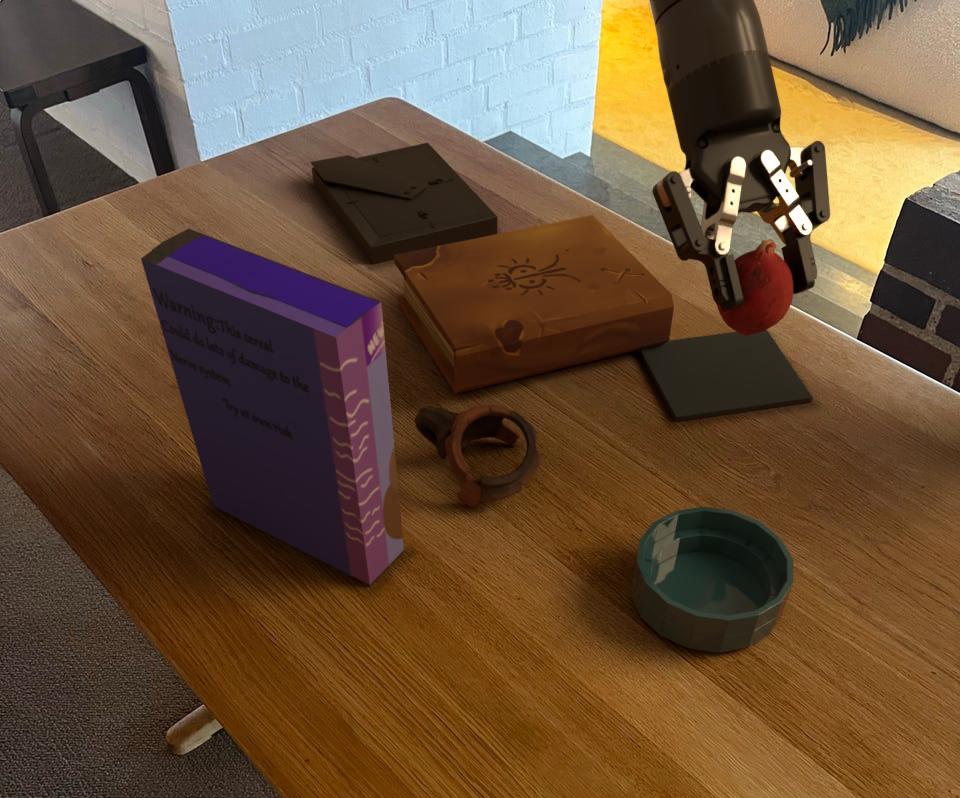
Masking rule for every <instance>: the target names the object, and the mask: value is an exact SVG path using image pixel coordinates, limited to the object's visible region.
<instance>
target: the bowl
mask: <svg viewBox="0 0 960 798" xmlns="http://www.w3.org/2000/svg"><path fill="white" fill-rule="evenodd" d="M632 576H633V578H632V585H631V592H630V593H631V597H632V599H633V602H634V604H635V607H636V609H637V612H638V614H639V616H640V618H641V619H642V620H643V621H644V622H645V623H647V625H649V627H650V628H652V629H653V630H654V631H655V633H657V635H659V636H661V637H663V638H664V639H667V640H669V641H671V642H674V643H676V644H678V645H680V646H683V647H685V648H686V649H690V650H697V651H705V652H712V653H724V652H730V651H736V650H741V649H747V648H750V647H751V646H753V645H755V644H756V643H758V642H760V641H761V640H763V639H765V638H766V637H768V636H770V635H771V634H772V632H773V631H774V630H775V629H774V628H775V627H776V625H777V623H778V622H779V621H780V619H781V618H782V616H783V613H784V610H785V608H786V604H787V601H788V599H789V596H790V593H791V590H792V588H793V585H794V580H795V577H794V559H793V557H792V555H791V553H790V551H789V550H788V548H787V546H786V545H785V542H784V541H783V539H782V538H781V537H780V536H779V535H778V534H777V533H775V532H774V531H773V530H771V528H769V527H768V526H767V525H765V524H764V523H763V522H762V521H760V520H759V519H757V518H756V519H755V518H753V517H751V516H748V515H745V514H743V513H740V512H738V511H737V510H734V509H729V508H728V509H727V508H718V507H710V506H697V507H691V508H685V509H684V508H683V509H679V510H674V511H672V512H670V513H668V514H666V515H664V516H663V517H661V518H659V519H657V520H655V521H654V522H652V523H651V525H650V526H649V527H648V528H647V530H646V531H645V532H644V533H643V535H642V537H641V538H640V539H639V541H638V545H637V552H636V558H635V563H634V570H633V575H632Z"/></svg>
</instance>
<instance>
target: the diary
mask: <svg viewBox="0 0 960 798" xmlns="http://www.w3.org/2000/svg"><path fill="white" fill-rule="evenodd" d="M393 262H394V263H393V264H394V265H395V266H396V268H397V269H398V271H399V272H400V274H401V276H402V277H403V287H404V288H403V289H404V294H400V295H397V296H396V298H397V299H396V301H397V305H398V306H399V308H400V310H401V311H402V313H403V314H404V316H405V318H406V319H407V320H408V322H409V324H410V325H411V327H412V328H413V330H414V331H415V333H416V334H417V336H418V338H419V339H420V341H421V342H422V344H423V346H424V347H425V349H426V350H427V352H428V354H429V355H430V356H431V359H433V361H434V363H435V364H436V366H437V368H438V369H439V371H440V372H441V374H442V375H443V377H444V379H445V381H446V382H447V383H448V385H449V386H450V388H451V390H452V391H453V393H454V394H455V395H456V394H460V393H464V392H465V393H466V392H468V391H473V390H478V389H481V388H485V387H491V386H494V385H498V384H502V383H507V382H511V381H514V380H519V379H523V378H527V377H532V376H536V375H539V374H544V373H548V372H553V371H556V370H559V369H564V368H565V369H566V368H568V367H573V366H577V365H582V364H586V363H590V362H594V361H598V360H603V359H607V358H611V357H614V356H619V355H623V354H628V353H631V352H632V353H633V352H636V351H638V350H640V349H645V348H649V347H653V346H657V345H661V344H665V343H666V342H667V341H670V338H671V329H672V324H673V318H674V317H673V316H674V311H675V305H674V304H675V303H674V300H673V295H672V293H671V292H670V291H669V290H668V289H667V288H666V287H665V286H664V284H662V283H661V282H660V281H659V280H658V279H657V278H656V277H655V276H654V275H653V273H651V272H650V271H649V270H648V268H647V267H645V266H644V264H642V262H640V261H639V260H638V259H637V258H636V256H634V255H633V254H632V253H631V251H629V250H628V249H627V247H625V245H623V243H622V242H621V241H620V240H619V239H617V237H615V235H613V233H611V231H610V230H608V228H606V226H605V225H603V223H601V221H600V220H599V219H598V218H597V217H596V216H595V215H594V214H590V215H585V216H580V217H575V218H570V219H565V220H561V221H555V222H550V223H546V224H540V225H535V226H530V227H525V228H521V229H520V228H519V229H515V230H511V231H505V232H500V233H496V234H492V235H488V236H484V237H480V238H476V239H471V240H466V241H461V242H456V243H451V244H446V245H441V246H436V247H431V248H426V249H421V250H416V251H411V252H406V253H401V254H396V255H394V259H393Z"/></svg>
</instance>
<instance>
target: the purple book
mask: <svg viewBox="0 0 960 798" xmlns="http://www.w3.org/2000/svg"><path fill="white" fill-rule="evenodd" d="M140 260H141V264H142V268H143V271H144V274H145V277H146V280H147V284H148V288H149V291H150V295H151V298H152V301H153V305H154V309H155V311H156V315H157V318H158V322H159V325H160V328H161V333H162V336H163V338H164V342H165V346H166V348H167V352H168V353H167V354H168V356H169V360H170V363H171V367H172V370H173V373H174V376H175V380H176V383H177V387H178V390H179V391H178V392H179V393H180V397H181V400H182V401H181V402H182V404H183V407H184V411H185V414H186V418H187V421H188V424H189V429H190V432H191V435H192V438H193V441H194V445H195V449H196V452H197V455H198V459H199V462H200V465H201V466H200V467H201V469H202V473H203V476H204V479H205V483H206V486H207V490H208V493H209V496H210V500H211V503H212V506H213V508H214V509H217V510H218V511H221V512H222V513H224V514H226V515H227V516H230V517H232V518H234V519H236V520H238V521H240V522H242V523H244V524H245V525H248V526H250V527H252V528H254V529H256V530H258V531H260V532H261V533H264V534H265V535H268V536H270V537H272V538H273V539H276V540H277V541H279V542H281V543H283V544H285V545H287V546H289V547H291V548H293V549H295V550H297V551H299V552H301V553H303V554H305V555H307V556H309V557H311V558H313V559H314V560H317V561H318V562H320V563H323V564H325V565H327V566H329V567H330V568H333V569H335V570H336V571H339V572H341V573H342V574H344V575H346V576H348V577H350V578H351V579H354V580H356V581H358V582H360V583H362V584H364V585H365V586H367V587H372V586H373V584H374V583H375V582H376V581H377V580H378V579H380V577H381V576H382V575H383V574H385V572H386V571H387V570H388V569H389V568H390V567H391V566H392V565H393V564H394V563H395V562H396V561H397V560H398V558H399V557H401V556H402V555H403V554H404V552H405V546H404V536H403V535H404V534H403V524H402V515H401V514H402V513H401V512H402V511H401V502H400V491H399V482H398V470H397V460H396V459H397V458H396V448H395V437H394V427H393V419H392V418H393V415H392V405H391V394H390V384H389V371H388V362H387V352H386V349H387V348H386V340H385V339H386V338H385V329H384V319H383V308H382V307H383V306H382V301H380V300H377V299H375V298H372V297H369V296H367V295H365V294H362V293H359V292H356V291H354V290H351V289H349V288H346V287H343V286H341V285H338V284H336V283H333V282H330V281H328V280H325V279H323V278H320V277H318V276H315V275H312V274H309V273H307V272H304V271H302V270H299V269H297V268H293V267H290V266H289V265H285V264H283V263H280V262H278V261H275V260H272V259H270V258H267V257H265V256H262V255H259V254H258V253H257V254H256V253H255V252H251V251H249V250H246V249H244V248H241V247H238V246H236V245H233V244H231V243H228V242H225V241H223V240H220V239H217V238H215V237H212V236H210V235H208V234H205V233H202V232H199V231H197V230H193V229H191V228H187V229H184V230H183V231H180V232H179V233H177V234H175V235H173V236H170V237H169V238H167V239H165V240H164V241H162V242H160V243H159V244H158V245H156V246H155V247H153V248H152V249H151V250H150V251H149V252H148V253H146V254H145V255H143V256H142V257H141V258H140Z"/></svg>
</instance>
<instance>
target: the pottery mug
mask: <svg viewBox="0 0 960 798" xmlns="http://www.w3.org/2000/svg"><path fill="white" fill-rule="evenodd" d="M504 419H506V420H508V421H511V422H512V423H514V424H515V425H516V426H517V427H518V428H519V430H520V431H521V433H522V434H523V436H524V438H525V443H526V451H525V456H524V458H523V460H522V462H521V463H520V464H519V465H518V466H517V467H516V468H515V469H514V470H512V471H510V472H508V473H506V474H503V475H496V476H495V475H493V476H492V475H485V474H482V473H481V474H479V477H478V478H479V480H478V479H477V478H475V477H473V476H472V475H471V474H470V473H469V471H470V465H469V464H468V463H467V461H466V460H465V458H464V455H463V453H462V449H463V448H464V447H466V446H467V445H468V444H470V443H471V442H472V443H473V442H474V441H477V440H481V439H486V438H491V439H496V440H499V441H502V442H504V443H506V444H507V445H509V446H511V447H513V448H515V447H516V446H517V443H518V441H519V439H520V438H521V433H520V432H519V431H518V430H516V429H514V428H513V427H511V426H510V425H509V424H507V423H506V422H504V421H503V420H504ZM413 422H414V424H415V428H416V430H417V431H418V432H419V433H420V435H422V436H423V437H424V438H425V439H426V441H428V442H429V443H430V444H432V446H434V447H435V448H436V451H437V453H438V456H439V459H440V460H442V461H443V460H446V459H447V461H448V464H449V466H450V469H451V471H452V473H453V476H454V477H455V478H456V480H457V481H458V483H459V484H460V485H461V486H460V489H459V491H458V492H457V494H456V495H457V499H458V501H460V502H461V503H463V504H464V505H467V506H468V507H470V508H473V507H475V506H478V505H479V504H482V505H486V504H490V503H494V502H498V501H502V500H504V499H507V498H510V497H512V496H514V495H516V494H518V493H520V492H521V491H523V487H522V486H526V485H529V483H530V482H531V480H532V479H533V477H534V475H535V474H536V471H537V470H538V469H539V467H540V466H541V465H542V464H543V461H544V460H543V458H542V455H541V453H540V451H539V450H538V449H537V445H536V444H537V442H538V432H537V431H536V428H535V427H534V426H533V425H532V424H531V423H530V422H529V421H528V420H527V419H526V418H525V417H524V416H523V415H521V414H520V413H519V412H517V411H516V410H512V409H511V408H509V407H505V406H503V405H497V404H481V405H476V406H473V407H470V408H468V409H466V410H463V411H460V412H454V411H451V410H448V409H446V408H443V407H440V406H433V405H425V406H423V407H421V408H420V409H418V412H417V413H416V415H415V417H414V421H413Z"/></svg>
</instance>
